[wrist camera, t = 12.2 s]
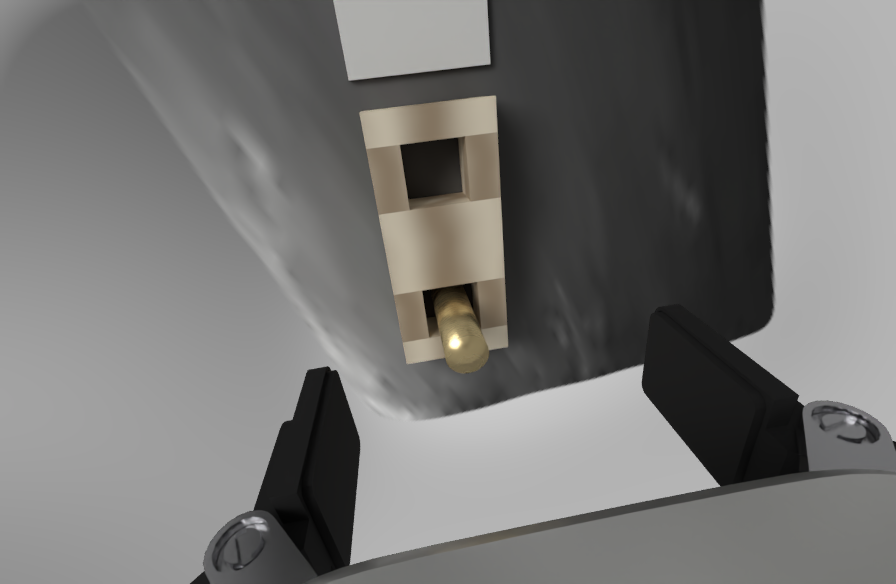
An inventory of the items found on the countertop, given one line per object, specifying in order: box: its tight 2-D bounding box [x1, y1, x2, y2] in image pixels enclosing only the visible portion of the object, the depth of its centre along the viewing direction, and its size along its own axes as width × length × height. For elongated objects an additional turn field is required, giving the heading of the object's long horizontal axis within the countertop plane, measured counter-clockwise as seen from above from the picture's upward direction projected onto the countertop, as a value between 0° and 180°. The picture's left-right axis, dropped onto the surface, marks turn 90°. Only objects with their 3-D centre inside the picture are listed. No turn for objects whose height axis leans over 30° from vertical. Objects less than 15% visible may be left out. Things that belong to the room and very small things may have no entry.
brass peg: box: [431, 284, 489, 373], centre depth 32 cm, size 3×3×10 cm
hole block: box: [359, 96, 508, 364], centre depth 32 cm, size 9×20×4 cm, turn 7°
